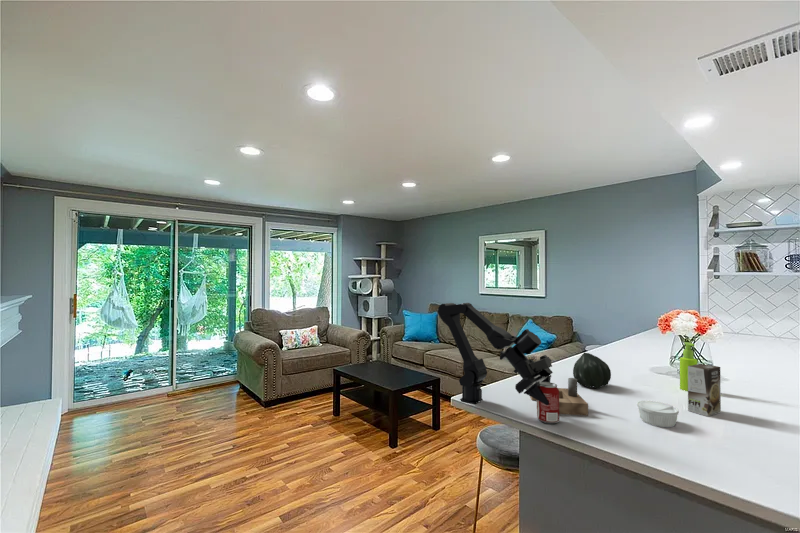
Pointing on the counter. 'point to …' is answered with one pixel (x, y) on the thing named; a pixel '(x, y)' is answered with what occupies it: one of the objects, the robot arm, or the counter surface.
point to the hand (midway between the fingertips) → (552, 401)
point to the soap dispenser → (686, 365)
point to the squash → (591, 371)
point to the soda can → (551, 410)
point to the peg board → (571, 400)
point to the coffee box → (704, 389)
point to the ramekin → (657, 413)
